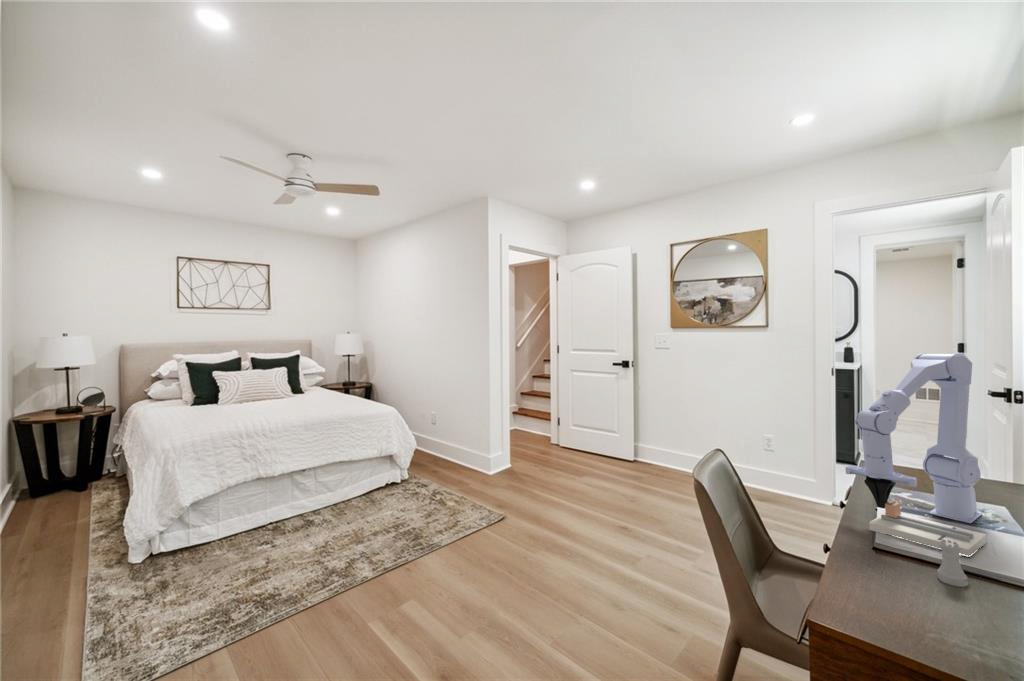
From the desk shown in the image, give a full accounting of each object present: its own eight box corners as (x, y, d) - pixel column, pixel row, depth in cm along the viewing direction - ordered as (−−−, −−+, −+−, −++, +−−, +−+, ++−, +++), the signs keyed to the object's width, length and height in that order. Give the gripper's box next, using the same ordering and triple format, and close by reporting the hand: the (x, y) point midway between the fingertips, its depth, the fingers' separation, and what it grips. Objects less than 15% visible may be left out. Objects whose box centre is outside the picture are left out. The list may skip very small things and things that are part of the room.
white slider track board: (889, 517, 114) (888, 506, 114) (986, 542, 99) (985, 530, 99) (869, 529, 109) (868, 518, 109) (969, 558, 93) (968, 544, 93)
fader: (891, 515, 111) (890, 500, 111) (901, 518, 109) (899, 502, 109) (886, 518, 109) (884, 503, 109) (896, 521, 107) (894, 505, 107)
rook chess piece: (975, 588, 83) (972, 548, 83) (948, 587, 83) (945, 547, 84) (956, 576, 87) (953, 537, 87) (931, 575, 88) (928, 537, 88)
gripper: (838, 453, 116) (842, 502, 115) (907, 464, 103) (911, 519, 103) (850, 448, 119) (854, 496, 119) (918, 458, 106) (923, 512, 106)
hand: (882, 506), depth 111 cm, fingers closed
